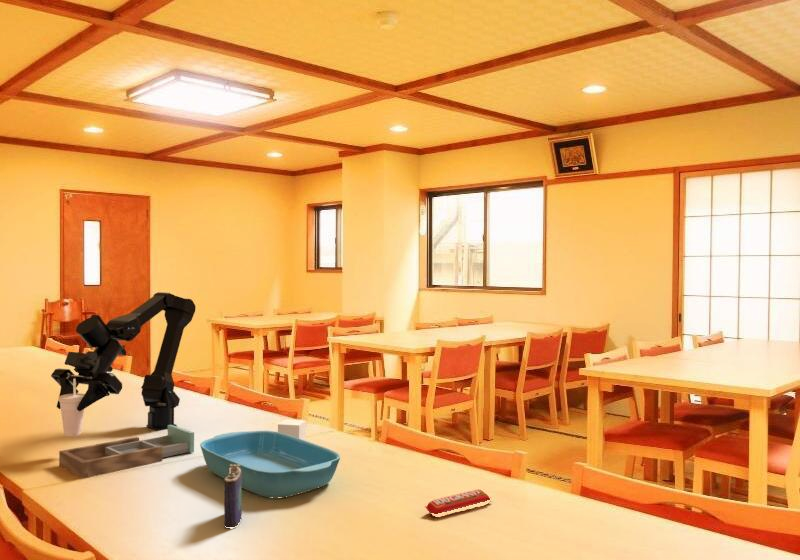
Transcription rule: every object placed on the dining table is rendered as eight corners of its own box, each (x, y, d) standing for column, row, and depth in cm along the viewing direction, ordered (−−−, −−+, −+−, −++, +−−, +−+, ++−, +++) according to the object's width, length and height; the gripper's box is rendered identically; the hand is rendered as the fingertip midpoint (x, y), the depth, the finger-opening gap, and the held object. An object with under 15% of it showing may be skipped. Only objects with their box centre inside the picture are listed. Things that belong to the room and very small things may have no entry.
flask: (228, 511, 131) (229, 457, 131) (243, 510, 132) (244, 457, 132) (222, 530, 122) (223, 472, 122) (238, 529, 123) (239, 471, 122)
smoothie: (75, 438, 163) (75, 381, 162) (52, 436, 164) (52, 380, 163) (92, 432, 169) (92, 377, 168) (70, 430, 170) (70, 375, 170)
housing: (136, 450, 173) (136, 436, 173) (162, 460, 164) (162, 446, 164) (59, 465, 158) (59, 451, 158) (82, 478, 150) (82, 462, 150)
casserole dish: (358, 487, 148) (359, 455, 148) (274, 512, 132) (274, 476, 132) (263, 452, 174) (264, 425, 173) (183, 470, 158) (184, 440, 158)
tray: (170, 443, 179) (171, 424, 179) (193, 451, 171) (194, 432, 171) (103, 456, 166) (103, 436, 165) (125, 466, 158) (125, 445, 158)
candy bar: (433, 521, 129) (433, 506, 129) (422, 515, 132) (422, 500, 132) (494, 505, 138) (494, 491, 138) (482, 500, 141) (482, 486, 141)
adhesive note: (277, 446, 179) (277, 424, 179) (284, 440, 185) (285, 419, 185) (299, 447, 178) (299, 425, 178) (305, 441, 184) (306, 420, 184)
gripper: (56, 337, 173) (19, 387, 162) (114, 341, 166) (79, 393, 156) (81, 363, 180) (46, 412, 170) (136, 368, 174) (104, 419, 164)
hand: (68, 409), depth 165 cm, fingers closed on smoothie, 6 cm apart
